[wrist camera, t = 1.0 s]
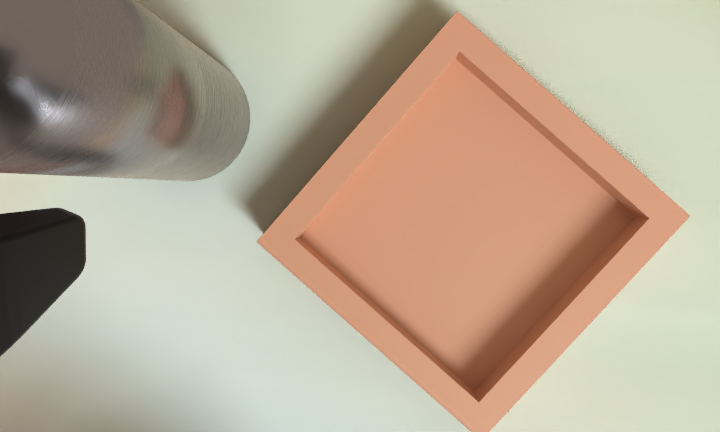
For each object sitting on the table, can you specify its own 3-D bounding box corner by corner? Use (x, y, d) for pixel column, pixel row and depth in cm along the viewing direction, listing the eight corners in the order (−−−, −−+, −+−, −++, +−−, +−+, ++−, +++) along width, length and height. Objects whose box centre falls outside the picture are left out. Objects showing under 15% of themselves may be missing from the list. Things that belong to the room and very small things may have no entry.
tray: (474, 420, 23) (481, 440, 22) (266, 237, 23) (256, 241, 22) (666, 213, 23) (690, 216, 21) (451, 25, 23) (457, 10, 21)
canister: (194, 206, 24) (-45, 227, 11) (101, 124, 24) (-252, 43, 11) (275, 111, 23) (132, 12, 10) (181, 28, 23) (-82, -177, 10)
